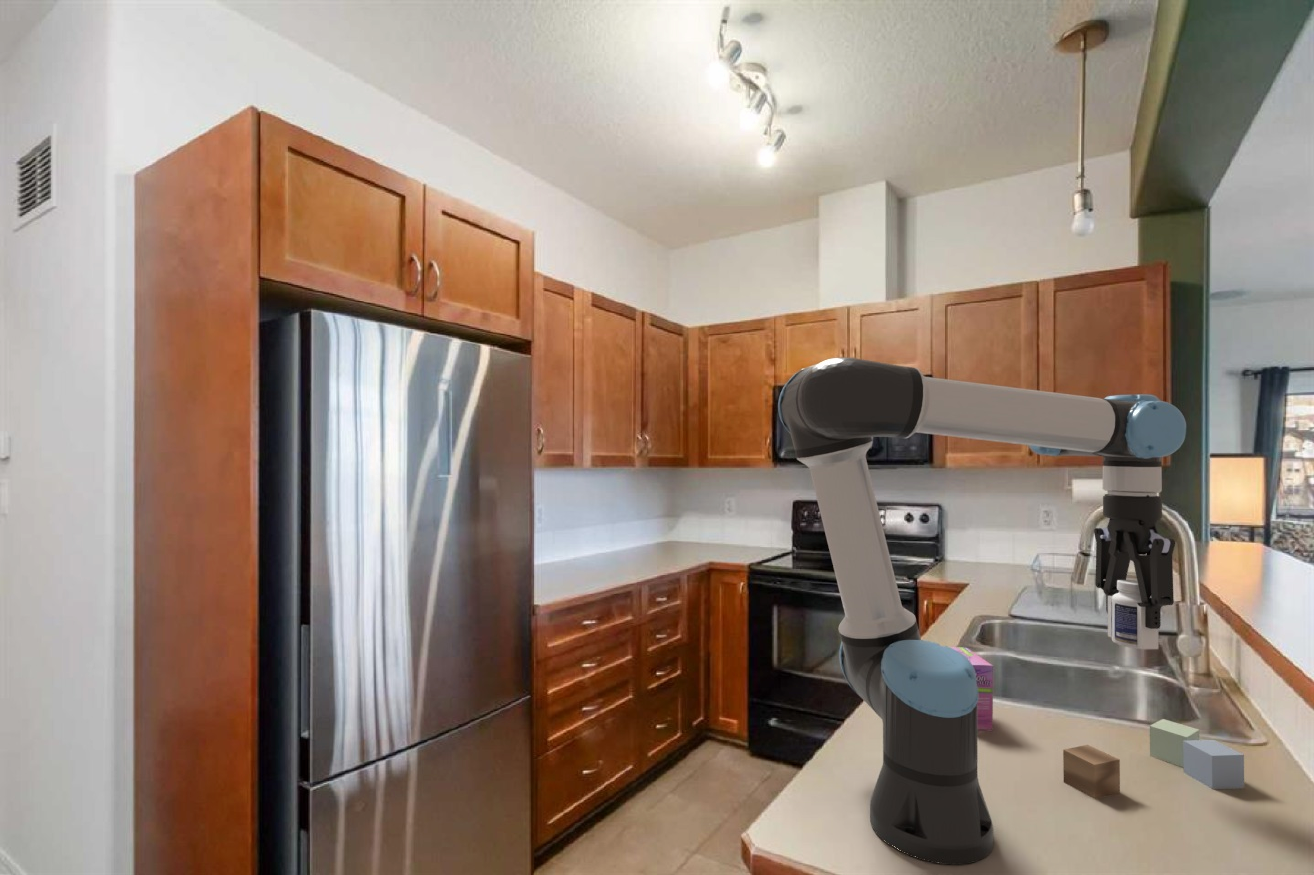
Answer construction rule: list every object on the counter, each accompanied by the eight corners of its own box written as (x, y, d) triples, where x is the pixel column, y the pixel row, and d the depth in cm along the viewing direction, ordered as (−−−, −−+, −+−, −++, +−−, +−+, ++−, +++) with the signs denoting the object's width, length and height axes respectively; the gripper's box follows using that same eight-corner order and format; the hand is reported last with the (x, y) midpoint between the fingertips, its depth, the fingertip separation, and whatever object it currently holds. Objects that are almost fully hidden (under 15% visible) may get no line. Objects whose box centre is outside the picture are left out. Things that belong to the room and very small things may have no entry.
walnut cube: (1094, 799, 95) (1094, 764, 95) (1063, 782, 100) (1063, 749, 100) (1120, 793, 97) (1119, 759, 97) (1088, 777, 101) (1087, 744, 101)
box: (994, 731, 118) (993, 664, 118) (962, 730, 118) (961, 664, 118) (967, 707, 128) (967, 646, 128) (938, 707, 128) (937, 646, 128)
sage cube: (1187, 769, 104) (1186, 737, 104) (1150, 756, 108) (1149, 725, 108) (1199, 760, 107) (1199, 729, 107) (1162, 748, 111) (1162, 718, 111)
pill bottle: (1161, 650, 100) (1161, 586, 100) (1121, 648, 101) (1121, 584, 101) (1143, 640, 105) (1142, 579, 105) (1105, 638, 106) (1105, 577, 106)
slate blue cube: (1212, 789, 98) (1211, 755, 98) (1183, 772, 103) (1183, 740, 103) (1244, 788, 98) (1243, 754, 98) (1213, 771, 103) (1213, 739, 103)
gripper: (1206, 498, 94) (1207, 661, 94) (1111, 489, 113) (1111, 625, 112) (1156, 498, 94) (1157, 662, 94) (1068, 489, 112) (1069, 626, 112)
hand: (1132, 642), depth 103 cm, fingers closed on pill bottle, 5 cm apart
